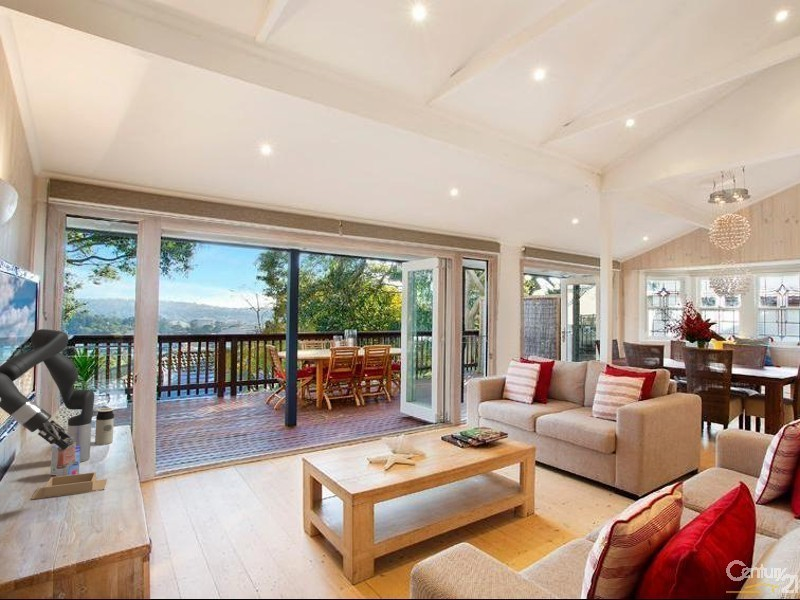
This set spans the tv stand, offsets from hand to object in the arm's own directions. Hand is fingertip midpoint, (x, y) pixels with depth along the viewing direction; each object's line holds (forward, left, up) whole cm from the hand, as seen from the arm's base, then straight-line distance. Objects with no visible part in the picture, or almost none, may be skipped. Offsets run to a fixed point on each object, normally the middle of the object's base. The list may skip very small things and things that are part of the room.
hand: (68, 444), depth 167 cm
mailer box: (-16, 0, -22) cm, 27 cm away
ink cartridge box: (-34, -5, -22) cm, 41 cm away
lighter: (0, 0, -8) cm, 8 cm away
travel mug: (-80, +5, -22) cm, 83 cm away
